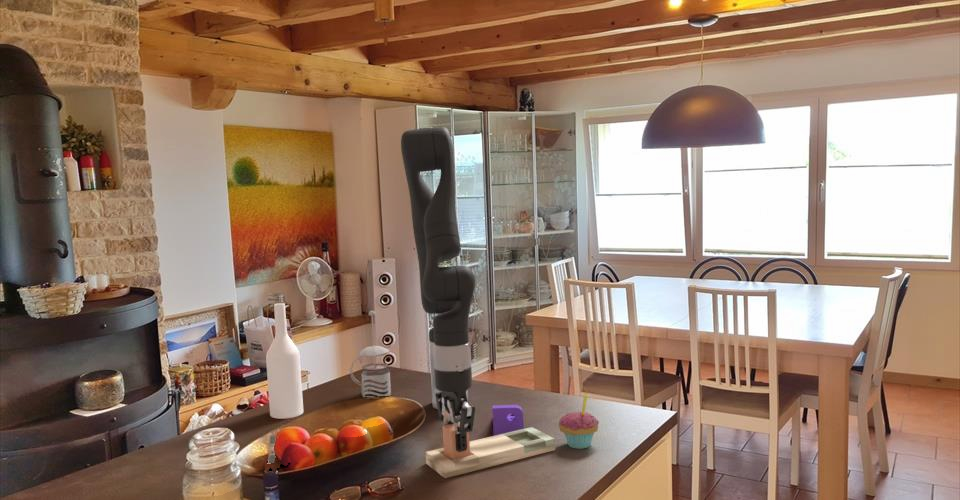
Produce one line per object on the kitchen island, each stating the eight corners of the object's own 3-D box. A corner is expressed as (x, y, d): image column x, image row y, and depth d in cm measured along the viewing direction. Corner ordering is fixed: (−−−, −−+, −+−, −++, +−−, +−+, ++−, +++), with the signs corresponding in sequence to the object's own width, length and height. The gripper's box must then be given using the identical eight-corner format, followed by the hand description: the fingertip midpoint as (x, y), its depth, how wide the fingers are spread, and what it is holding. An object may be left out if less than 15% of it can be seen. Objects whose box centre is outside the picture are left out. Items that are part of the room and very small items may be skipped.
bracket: (523, 436, 158) (522, 407, 157) (493, 437, 158) (492, 408, 157) (522, 419, 170) (521, 392, 169) (494, 420, 170) (493, 393, 169)
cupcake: (602, 439, 153) (600, 386, 152) (595, 453, 145) (593, 397, 144) (563, 436, 155) (561, 384, 154) (555, 450, 147) (553, 395, 146)
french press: (392, 406, 184) (387, 313, 182) (349, 408, 184) (343, 314, 182) (397, 395, 194) (392, 306, 192) (356, 397, 194) (350, 308, 192)
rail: (426, 463, 143) (425, 451, 143) (532, 437, 156) (531, 426, 155) (444, 478, 135) (444, 465, 135) (555, 449, 148) (554, 438, 147)
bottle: (270, 418, 178) (262, 302, 175) (303, 414, 180) (295, 300, 177) (270, 428, 170) (262, 307, 167) (304, 424, 172) (296, 304, 170)
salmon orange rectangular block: (444, 459, 143) (442, 425, 142) (461, 454, 144) (459, 422, 144) (452, 465, 139) (451, 431, 138) (470, 461, 141) (468, 427, 140)
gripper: (421, 360, 145) (425, 441, 146) (451, 375, 132) (455, 462, 133) (453, 355, 148) (457, 433, 150) (485, 368, 136) (489, 454, 137)
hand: (456, 447), depth 141 cm, fingers closed on salmon orange rectangular block, 4 cm apart
